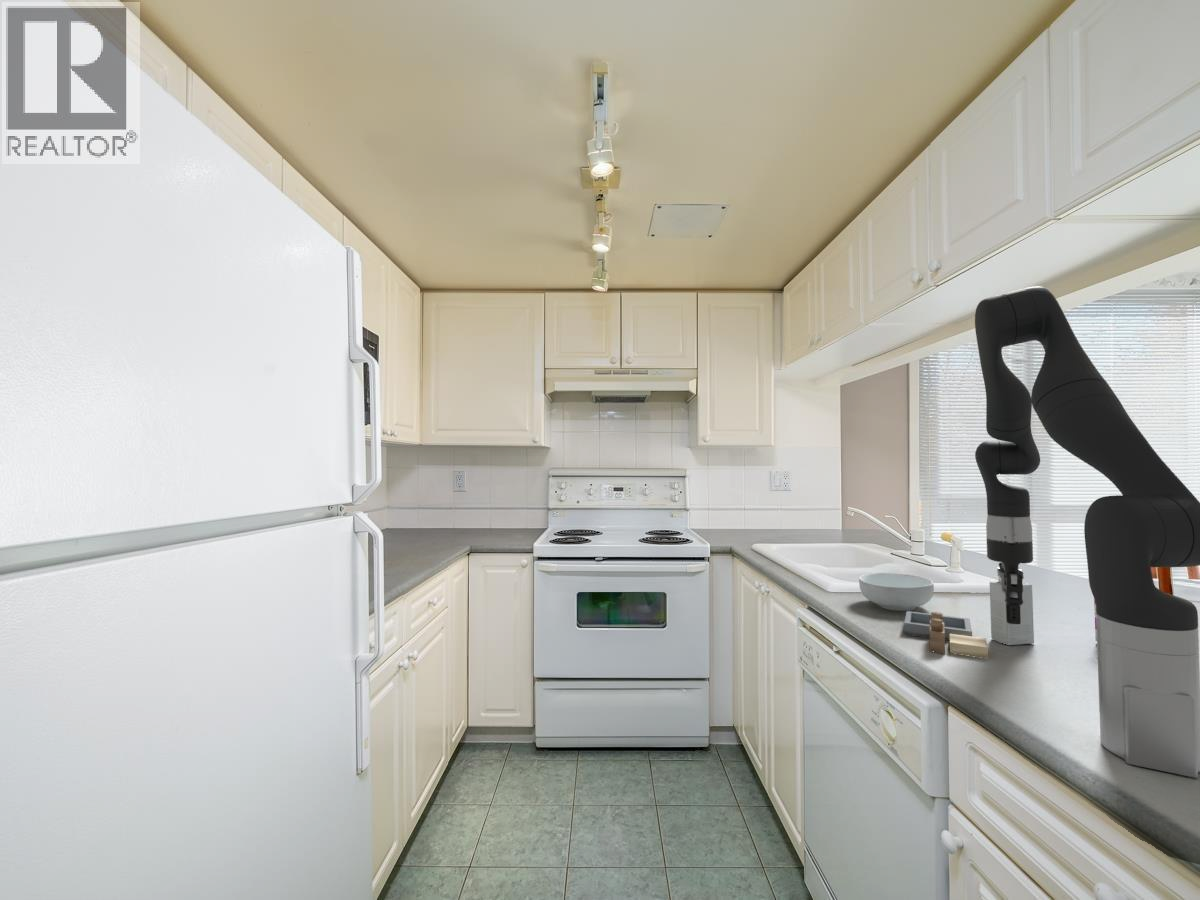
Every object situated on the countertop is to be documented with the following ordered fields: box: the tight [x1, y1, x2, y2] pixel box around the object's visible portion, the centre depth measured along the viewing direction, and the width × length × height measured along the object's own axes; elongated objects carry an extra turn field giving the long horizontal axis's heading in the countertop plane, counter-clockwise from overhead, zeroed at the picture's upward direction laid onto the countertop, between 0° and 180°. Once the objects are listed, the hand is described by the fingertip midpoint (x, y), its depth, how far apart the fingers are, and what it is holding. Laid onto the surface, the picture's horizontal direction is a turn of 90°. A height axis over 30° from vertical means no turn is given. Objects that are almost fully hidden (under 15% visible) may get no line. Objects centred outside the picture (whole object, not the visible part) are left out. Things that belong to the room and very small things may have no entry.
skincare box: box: [989, 581, 1035, 646], centre depth 110 cm, size 6×4×12 cm
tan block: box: [949, 634, 989, 660], centre depth 105 cm, size 6×6×2 cm
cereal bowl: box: [858, 572, 935, 612], centre depth 137 cm, size 17×17×7 cm
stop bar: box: [929, 611, 946, 654], centre depth 108 cm, size 8×2×6 cm, turn 148°
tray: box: [904, 610, 973, 641], centre depth 117 cm, size 10×12×2 cm
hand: (1011, 618), depth 110 cm, fingers closed on skincare box, 6 cm apart
